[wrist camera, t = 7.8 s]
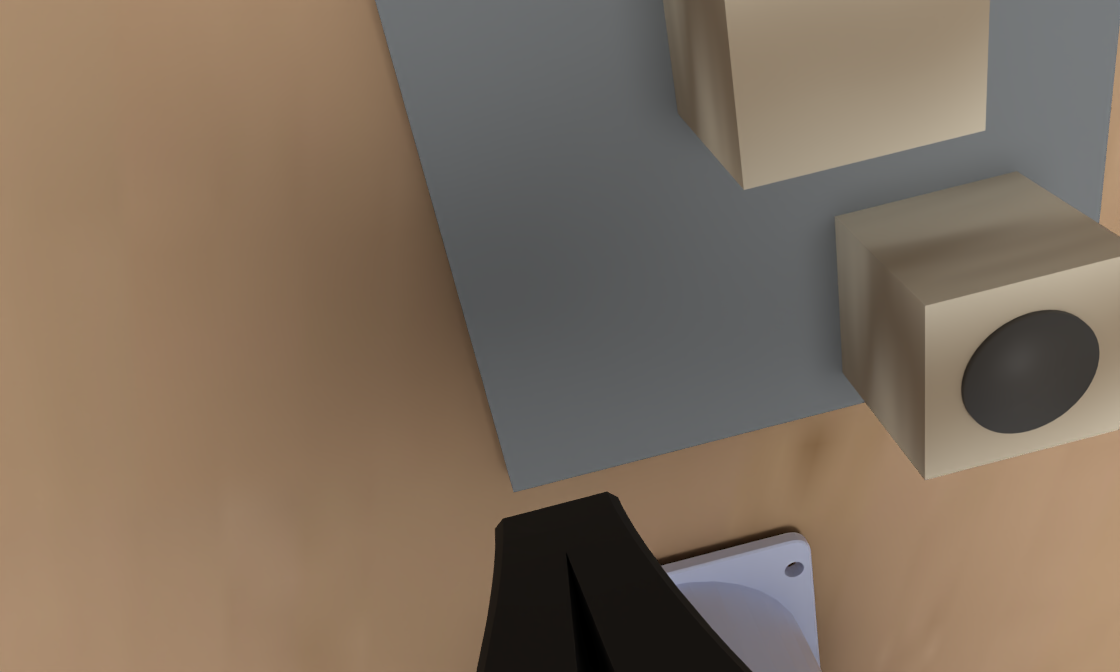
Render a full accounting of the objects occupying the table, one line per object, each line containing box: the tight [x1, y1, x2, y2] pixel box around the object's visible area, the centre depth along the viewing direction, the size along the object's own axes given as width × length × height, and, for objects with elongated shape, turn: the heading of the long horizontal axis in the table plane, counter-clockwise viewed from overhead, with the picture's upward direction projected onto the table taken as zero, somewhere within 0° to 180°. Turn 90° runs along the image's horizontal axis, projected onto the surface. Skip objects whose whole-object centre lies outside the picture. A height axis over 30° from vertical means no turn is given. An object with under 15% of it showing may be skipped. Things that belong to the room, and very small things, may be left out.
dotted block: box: [835, 171, 1120, 480], centre depth 20 cm, size 4×4×4 cm
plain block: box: [663, 0, 990, 190], centre depth 16 cm, size 4×4×4 cm
